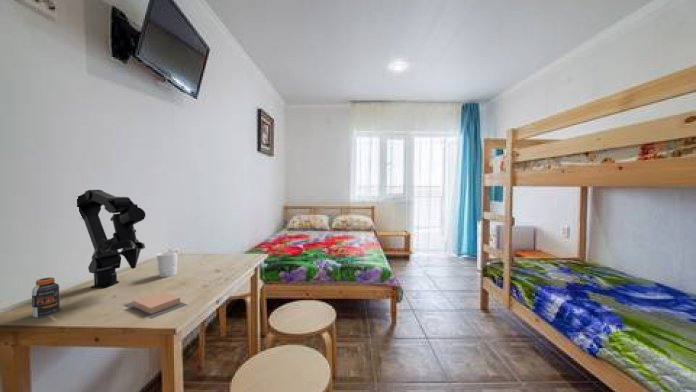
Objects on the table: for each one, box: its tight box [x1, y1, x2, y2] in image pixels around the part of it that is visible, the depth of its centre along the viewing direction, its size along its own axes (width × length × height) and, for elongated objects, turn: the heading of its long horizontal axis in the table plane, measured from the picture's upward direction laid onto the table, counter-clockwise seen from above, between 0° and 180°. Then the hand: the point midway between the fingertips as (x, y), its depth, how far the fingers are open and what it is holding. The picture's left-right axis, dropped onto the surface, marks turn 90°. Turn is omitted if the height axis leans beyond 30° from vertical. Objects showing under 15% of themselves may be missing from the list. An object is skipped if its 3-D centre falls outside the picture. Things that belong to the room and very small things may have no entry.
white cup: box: [156, 250, 178, 278], centre depth 125 cm, size 8×8×10 cm
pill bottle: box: [31, 277, 61, 318], centre depth 88 cm, size 6×6×11 cm
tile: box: [131, 290, 181, 314], centre depth 93 cm, size 2×9×12 cm
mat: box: [123, 301, 188, 319], centre depth 93 cm, size 19×11×1 cm, turn 60°
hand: (133, 268), depth 104 cm, fingers closed
